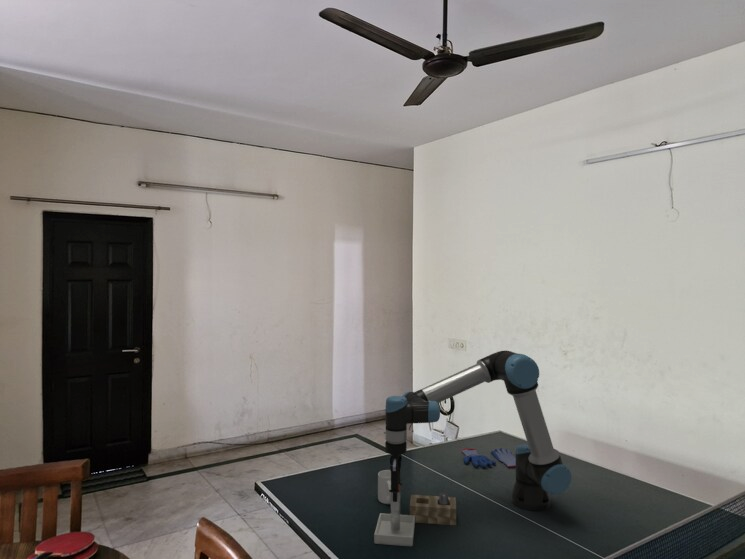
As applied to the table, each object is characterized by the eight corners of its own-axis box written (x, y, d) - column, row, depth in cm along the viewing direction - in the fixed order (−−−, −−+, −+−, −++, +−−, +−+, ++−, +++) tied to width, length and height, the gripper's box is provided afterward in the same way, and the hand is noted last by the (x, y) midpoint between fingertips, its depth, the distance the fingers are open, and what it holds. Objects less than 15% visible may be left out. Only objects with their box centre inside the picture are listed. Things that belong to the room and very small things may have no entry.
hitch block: (455, 513, 190) (455, 497, 190) (456, 525, 180) (456, 508, 180) (411, 510, 193) (411, 494, 193) (409, 522, 183) (409, 505, 183)
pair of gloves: (514, 451, 263) (514, 445, 263) (533, 469, 237) (533, 462, 237) (455, 453, 260) (455, 446, 261) (468, 471, 235) (468, 463, 235)
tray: (414, 523, 181) (415, 515, 182) (412, 546, 166) (412, 537, 166) (379, 521, 183) (379, 513, 183) (374, 543, 167) (374, 534, 167)
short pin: (448, 516, 187) (448, 492, 188) (448, 520, 184) (448, 496, 184) (439, 515, 188) (439, 492, 188) (439, 520, 185) (439, 495, 185)
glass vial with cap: (400, 526, 176) (400, 483, 176) (399, 531, 173) (399, 486, 173) (391, 526, 176) (391, 482, 177) (390, 530, 173) (390, 486, 173)
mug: (378, 508, 194) (378, 481, 194) (377, 495, 206) (377, 469, 206) (400, 508, 194) (400, 481, 194) (397, 495, 206) (398, 469, 206)
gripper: (387, 433, 184) (387, 496, 183) (382, 447, 167) (382, 517, 167) (408, 434, 182) (407, 498, 182) (404, 448, 166) (404, 518, 166)
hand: (395, 507), depth 175 cm, fingers closed on glass vial with cap, 3 cm apart
